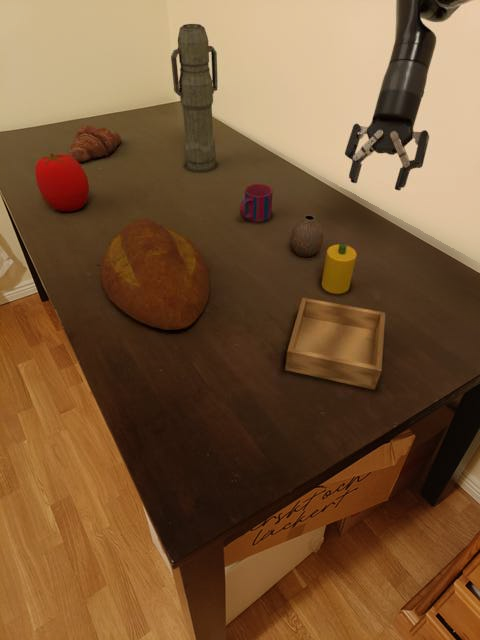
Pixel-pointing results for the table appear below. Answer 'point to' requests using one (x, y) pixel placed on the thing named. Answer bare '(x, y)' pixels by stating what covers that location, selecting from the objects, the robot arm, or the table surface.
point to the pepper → (338, 268)
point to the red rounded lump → (62, 182)
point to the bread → (155, 275)
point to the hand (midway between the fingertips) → (375, 186)
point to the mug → (257, 203)
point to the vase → (307, 236)
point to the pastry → (93, 143)
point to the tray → (337, 343)
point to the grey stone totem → (196, 94)
